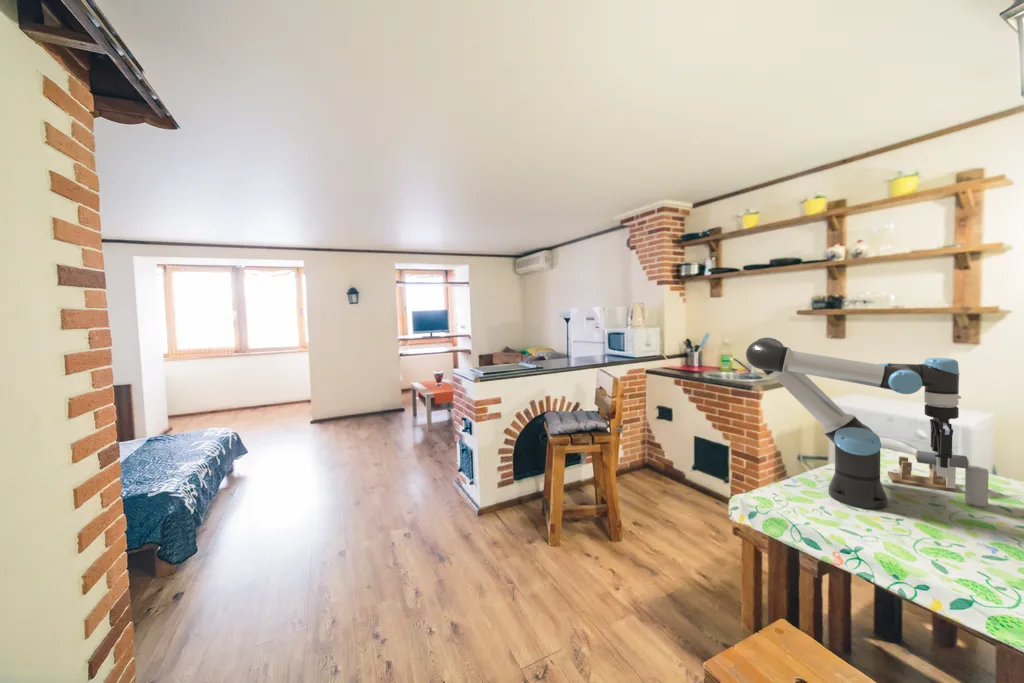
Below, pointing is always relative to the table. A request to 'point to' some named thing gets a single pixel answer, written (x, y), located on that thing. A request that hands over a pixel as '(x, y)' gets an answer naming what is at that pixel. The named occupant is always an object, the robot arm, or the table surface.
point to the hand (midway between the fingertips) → (940, 473)
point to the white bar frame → (951, 477)
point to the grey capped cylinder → (931, 459)
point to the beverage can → (976, 486)
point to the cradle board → (918, 477)
